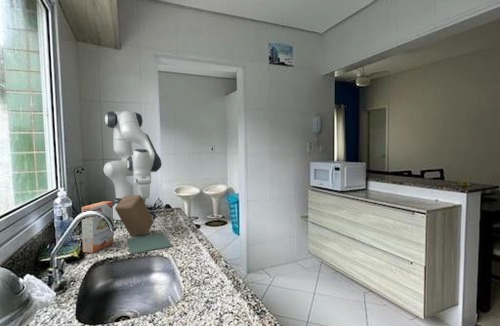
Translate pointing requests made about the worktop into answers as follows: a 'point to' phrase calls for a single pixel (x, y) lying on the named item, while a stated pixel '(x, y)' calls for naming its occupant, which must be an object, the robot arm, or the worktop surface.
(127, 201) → the wooden block
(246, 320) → the worktop surface
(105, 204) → the cracker box
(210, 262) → the worktop surface
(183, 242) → the worktop surface
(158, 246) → the mat
